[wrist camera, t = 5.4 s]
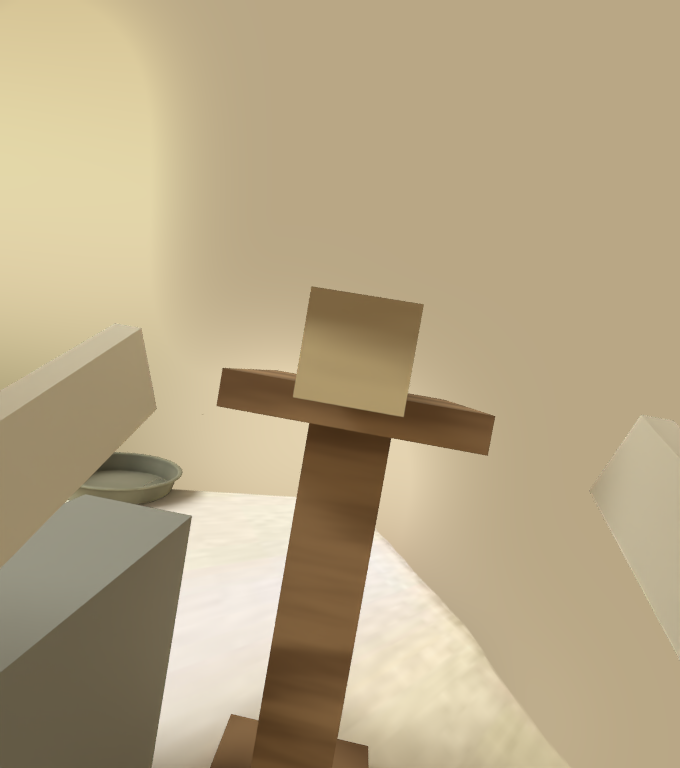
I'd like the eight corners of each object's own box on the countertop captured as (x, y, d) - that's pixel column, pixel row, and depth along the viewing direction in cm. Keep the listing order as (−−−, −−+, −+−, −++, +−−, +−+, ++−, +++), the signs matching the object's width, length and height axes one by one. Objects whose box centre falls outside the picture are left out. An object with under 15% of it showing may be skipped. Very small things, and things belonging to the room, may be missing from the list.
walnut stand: (382, 1012, 20) (495, 416, 19) (130, 942, 21) (222, 367, 19) (375, 771, 32) (444, 399, 31) (216, 733, 33) (277, 370, 31)
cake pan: (73, 522, 64) (77, 496, 63) (29, 477, 78) (32, 456, 78) (201, 497, 84) (204, 477, 83) (147, 465, 98) (150, 448, 98)
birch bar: (403, 416, 10) (423, 304, 10) (292, 397, 10) (311, 286, 10) (376, 386, 34) (382, 354, 34) (343, 381, 34) (349, 348, 34)
